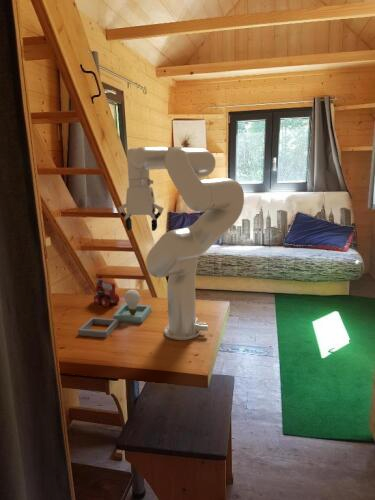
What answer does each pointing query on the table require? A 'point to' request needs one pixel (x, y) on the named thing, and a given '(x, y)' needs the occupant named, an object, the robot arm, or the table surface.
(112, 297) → the toy fire truck
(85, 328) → the holder
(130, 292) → the light bulb
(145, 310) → the tray
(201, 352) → the table surface
